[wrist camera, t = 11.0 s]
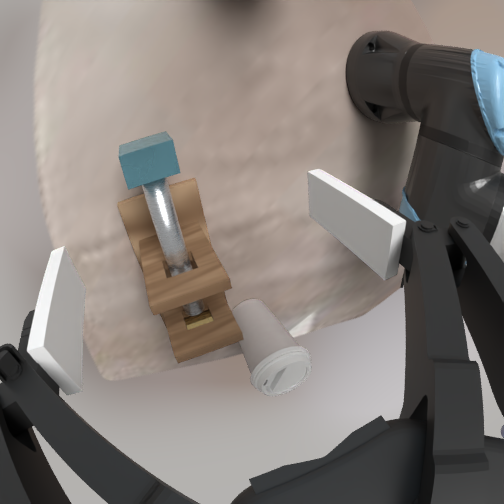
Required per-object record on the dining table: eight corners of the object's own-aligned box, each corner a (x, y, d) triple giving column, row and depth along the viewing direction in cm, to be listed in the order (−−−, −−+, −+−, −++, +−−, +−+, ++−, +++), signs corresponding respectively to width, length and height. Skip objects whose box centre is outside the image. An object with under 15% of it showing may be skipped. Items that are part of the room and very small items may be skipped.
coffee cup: (245, 283, 50) (288, 351, 38) (283, 301, 55) (328, 362, 43) (210, 325, 51) (242, 396, 40) (250, 338, 57) (286, 401, 45)
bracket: (117, 202, 35) (118, 264, 24) (194, 177, 38) (229, 226, 27) (163, 317, 47) (184, 389, 36) (223, 296, 49) (257, 362, 38)
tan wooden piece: (162, 295, 43) (171, 330, 38) (210, 278, 45) (226, 311, 39) (167, 306, 45) (177, 342, 39) (213, 290, 47) (229, 323, 41)
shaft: (119, 145, 26) (118, 156, 22) (165, 131, 27) (172, 139, 24) (172, 302, 38) (180, 327, 34) (207, 290, 39) (218, 314, 35)
